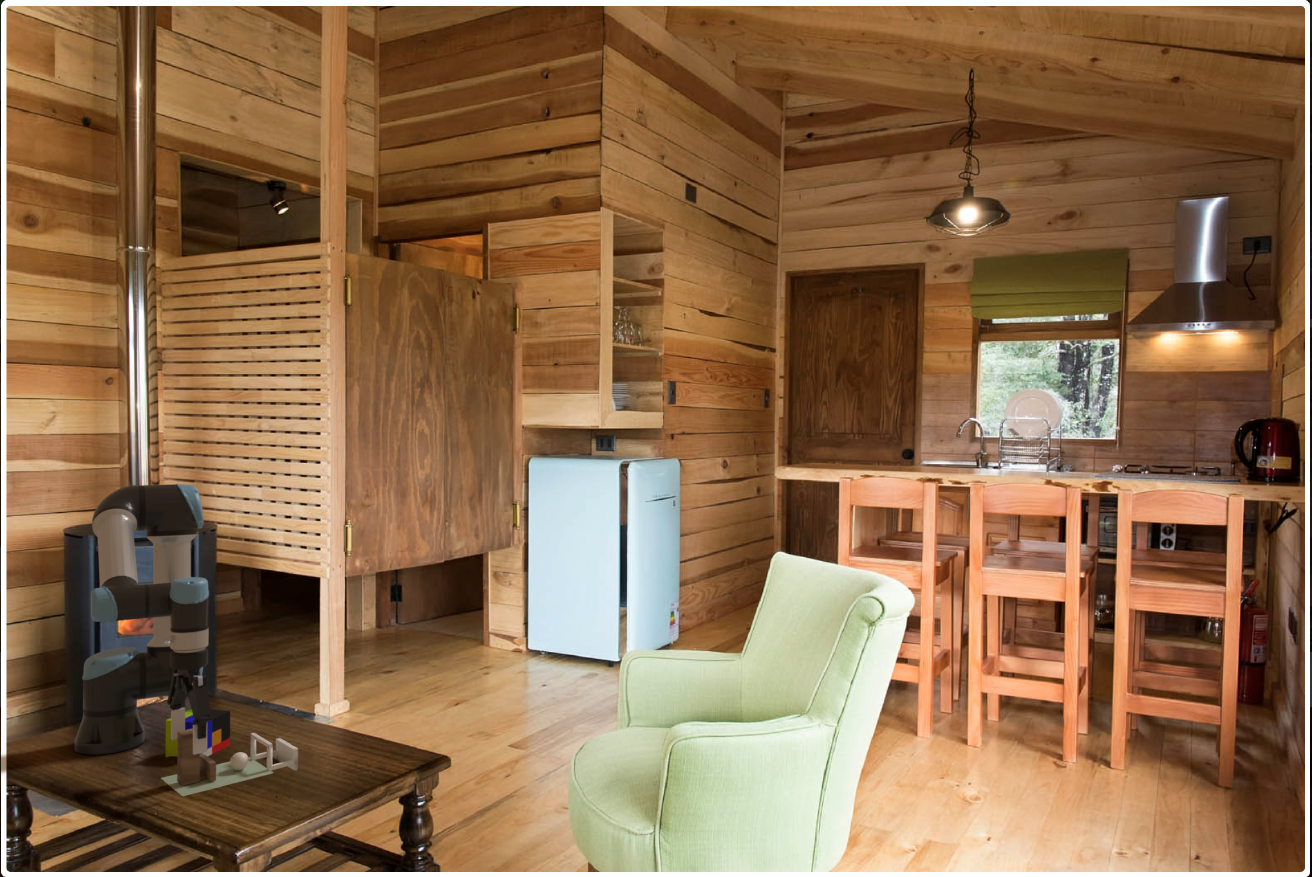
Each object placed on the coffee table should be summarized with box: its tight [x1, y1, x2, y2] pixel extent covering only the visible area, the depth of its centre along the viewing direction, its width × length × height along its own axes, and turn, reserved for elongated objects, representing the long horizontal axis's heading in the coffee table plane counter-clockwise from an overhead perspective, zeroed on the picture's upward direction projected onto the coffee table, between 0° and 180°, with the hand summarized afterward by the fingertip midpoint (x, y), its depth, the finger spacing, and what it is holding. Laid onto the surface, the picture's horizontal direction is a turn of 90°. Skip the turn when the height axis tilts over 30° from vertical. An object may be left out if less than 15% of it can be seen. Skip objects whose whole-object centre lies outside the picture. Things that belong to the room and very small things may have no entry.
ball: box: [229, 751, 249, 771], centre depth 213 cm, size 4×4×4 cm
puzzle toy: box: [165, 708, 231, 758], centre depth 226 cm, size 10×10×10 cm
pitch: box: [160, 732, 299, 797], centre depth 212 cm, size 14×26×8 cm, turn 135°
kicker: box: [176, 728, 217, 786], centre depth 206 cm, size 7×6×11 cm
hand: (188, 745), depth 205 cm, fingers open, 13 cm apart
